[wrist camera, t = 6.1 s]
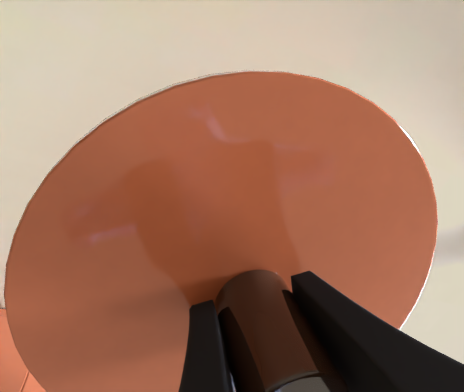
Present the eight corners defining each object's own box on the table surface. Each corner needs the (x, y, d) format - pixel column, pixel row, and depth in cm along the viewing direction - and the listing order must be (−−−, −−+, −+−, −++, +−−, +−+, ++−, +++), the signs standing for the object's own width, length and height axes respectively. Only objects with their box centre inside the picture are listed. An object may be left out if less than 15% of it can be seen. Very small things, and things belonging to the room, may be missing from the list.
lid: (434, 28, 9) (673, 10, 5) (400, 350, 15) (497, 464, 11) (-89, 128, 7) (-408, 234, 3) (106, 454, 13) (88, 642, 9)
